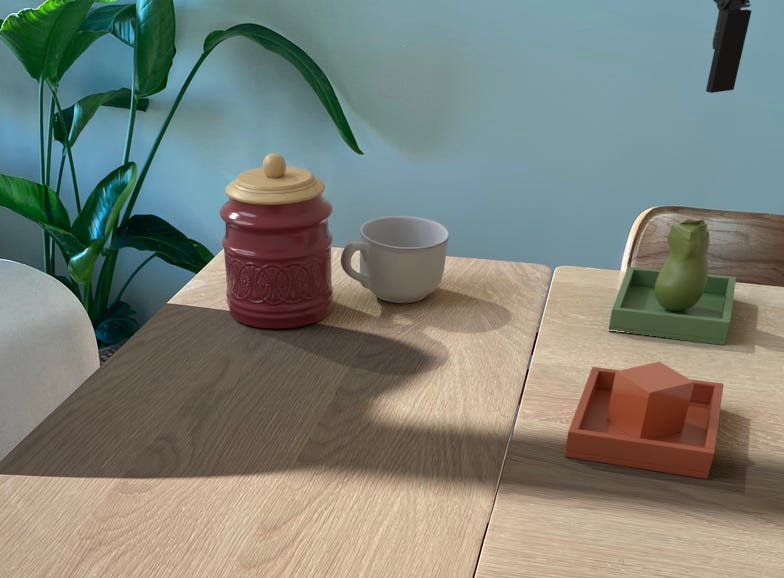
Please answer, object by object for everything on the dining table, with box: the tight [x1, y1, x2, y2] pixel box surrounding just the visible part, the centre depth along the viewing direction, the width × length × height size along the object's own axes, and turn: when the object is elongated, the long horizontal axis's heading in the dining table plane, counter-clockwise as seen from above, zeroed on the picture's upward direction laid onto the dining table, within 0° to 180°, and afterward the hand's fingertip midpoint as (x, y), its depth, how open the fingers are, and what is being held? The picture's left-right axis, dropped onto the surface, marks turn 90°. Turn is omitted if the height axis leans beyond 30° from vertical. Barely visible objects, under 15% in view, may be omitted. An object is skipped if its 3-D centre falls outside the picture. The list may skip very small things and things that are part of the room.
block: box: [607, 361, 694, 440], centre depth 91 cm, size 5×5×5 cm
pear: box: [655, 218, 710, 311], centre depth 111 cm, size 6×5×10 cm
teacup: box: [340, 215, 450, 304], centre depth 119 cm, size 14×11×8 cm
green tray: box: [608, 266, 737, 346], centre depth 114 cm, size 15×13×3 cm
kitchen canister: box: [219, 152, 334, 330], centre depth 113 cm, size 13×13×18 cm
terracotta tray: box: [563, 366, 724, 480], centre depth 93 cm, size 15×13×3 cm
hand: (770, 104), depth 89 cm, fingers open, 13 cm apart
